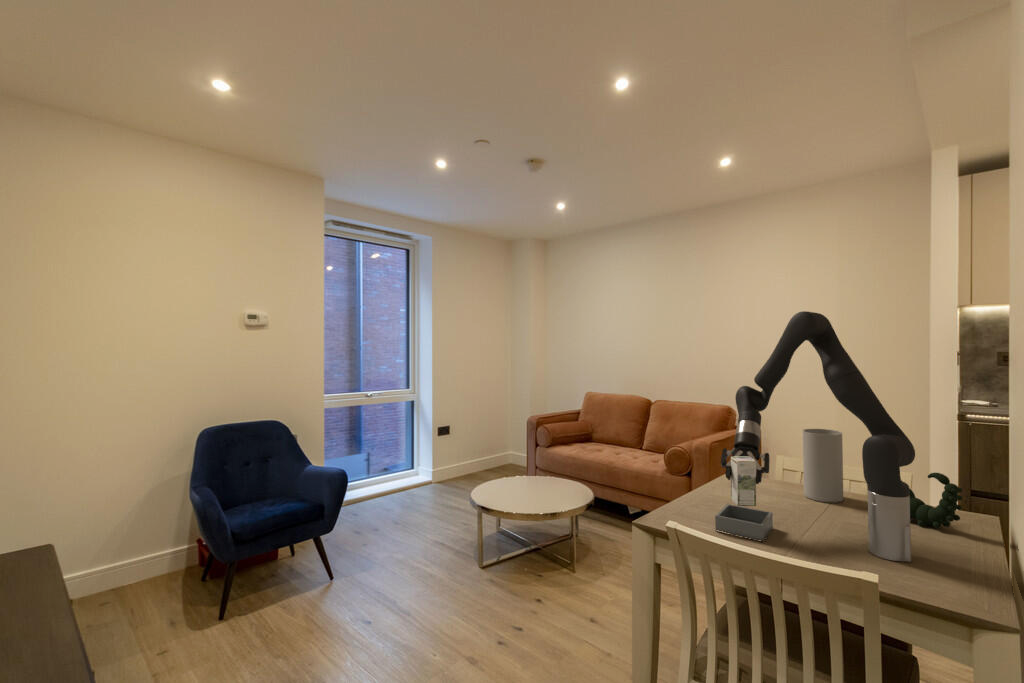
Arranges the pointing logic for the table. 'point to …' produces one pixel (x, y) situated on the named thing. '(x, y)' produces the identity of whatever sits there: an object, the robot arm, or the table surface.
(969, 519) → the table surface
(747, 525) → the crate
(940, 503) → the toy figurine
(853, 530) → the table surface
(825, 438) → the cylinder vase
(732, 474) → the syrup box
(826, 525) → the table surface
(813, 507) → the table surface
